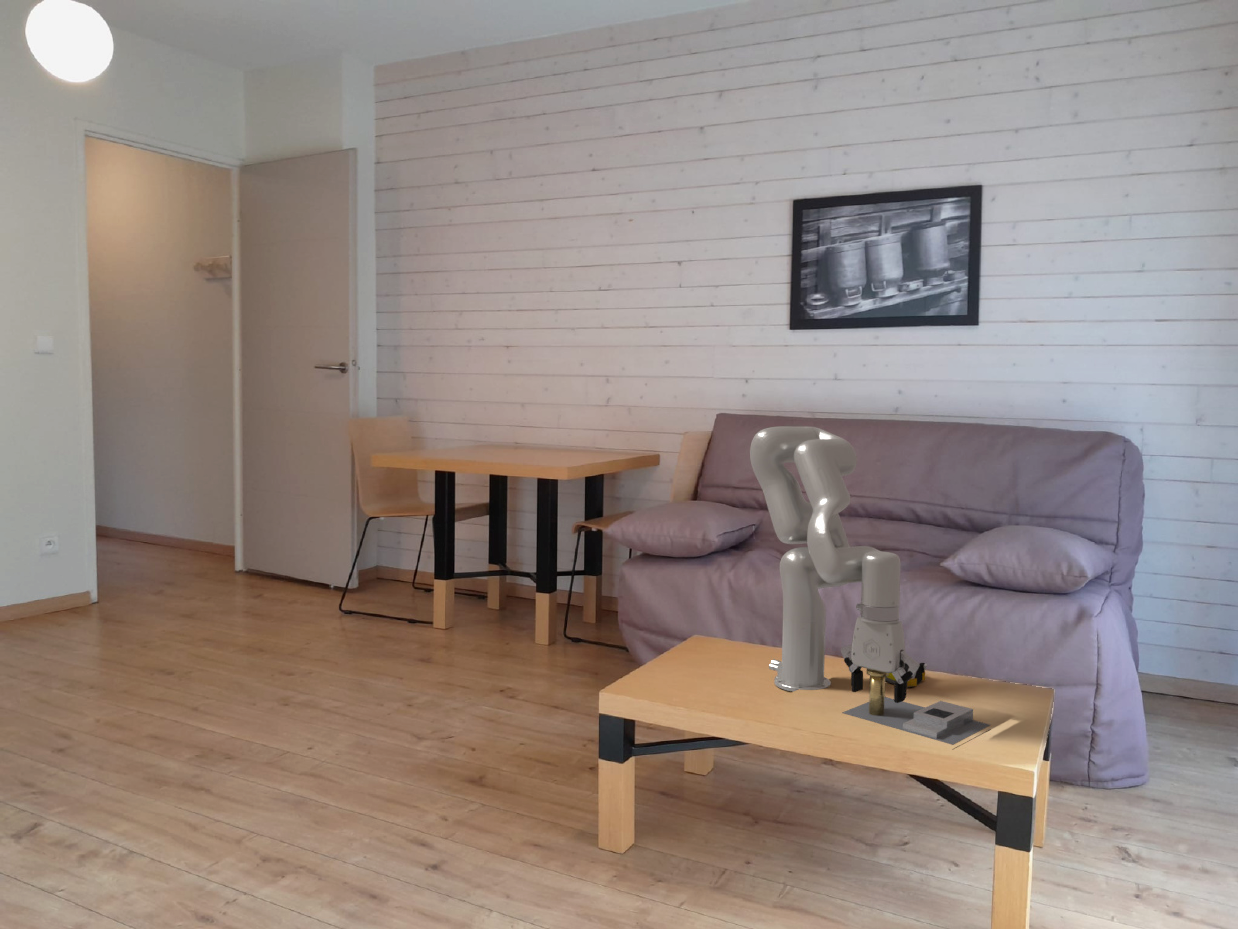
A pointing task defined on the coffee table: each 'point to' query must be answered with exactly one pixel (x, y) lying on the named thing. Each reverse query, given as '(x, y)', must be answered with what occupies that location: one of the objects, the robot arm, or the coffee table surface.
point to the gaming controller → (915, 679)
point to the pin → (876, 692)
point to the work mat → (905, 711)
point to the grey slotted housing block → (939, 719)
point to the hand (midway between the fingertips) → (878, 696)
